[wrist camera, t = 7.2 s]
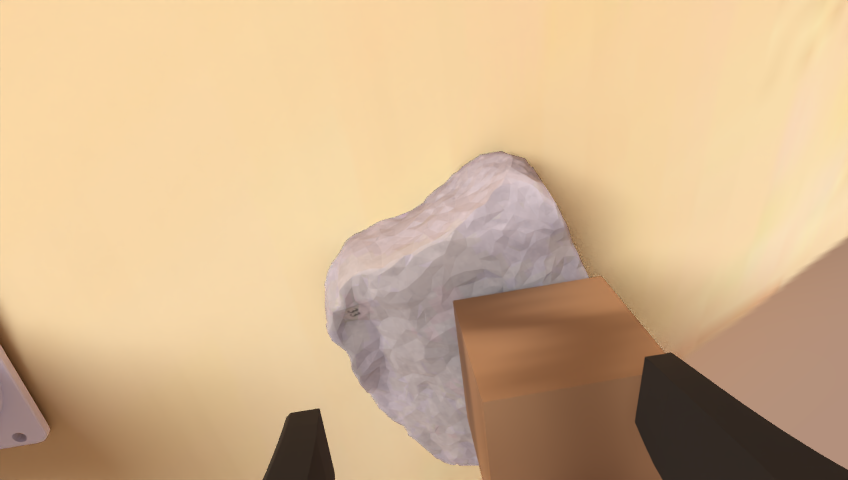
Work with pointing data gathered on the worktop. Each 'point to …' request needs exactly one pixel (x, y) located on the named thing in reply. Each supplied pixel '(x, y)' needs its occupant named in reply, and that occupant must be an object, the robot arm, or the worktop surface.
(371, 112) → the worktop surface
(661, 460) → the robot arm
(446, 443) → the stone block
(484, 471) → the walnut cube
